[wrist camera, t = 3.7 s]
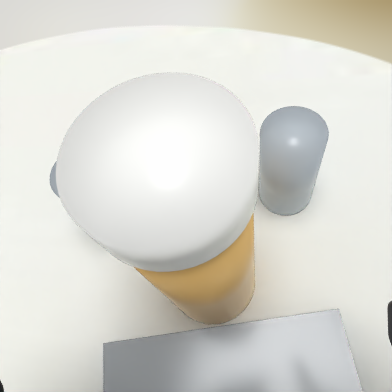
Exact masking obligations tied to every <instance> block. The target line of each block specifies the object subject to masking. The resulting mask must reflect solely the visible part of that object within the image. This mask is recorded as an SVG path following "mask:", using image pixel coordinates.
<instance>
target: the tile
mask: <svg viewBox="0 0 392 392" xmlns="http://www.w3.org/2000/svg"><path fill="white" fill-rule="evenodd" d="M103 373H104V392H363V390H362V387H361V383H360V380H359V376H358V373H357V370H356V366H355V363H354V359H353V356H352V352H351V349H350V345H349V342H348V339H347V335H346V332H345V328H344V325H343V321H342V318H341V314H340V311H339V309H333V310H326V311H320V312H313V313H306V314H299V315H292V316H286V317H279V318H272V319H265V320H258V321H252V322H245V323H238V324H231V325H225V326H218V327H211V328H204V329H197V330H191V331H184V332H177V333H170V334H164V335H157V336H150V337H143V338H136V339H130V340H123V341H116V342H109V343H103Z"/></svg>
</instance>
